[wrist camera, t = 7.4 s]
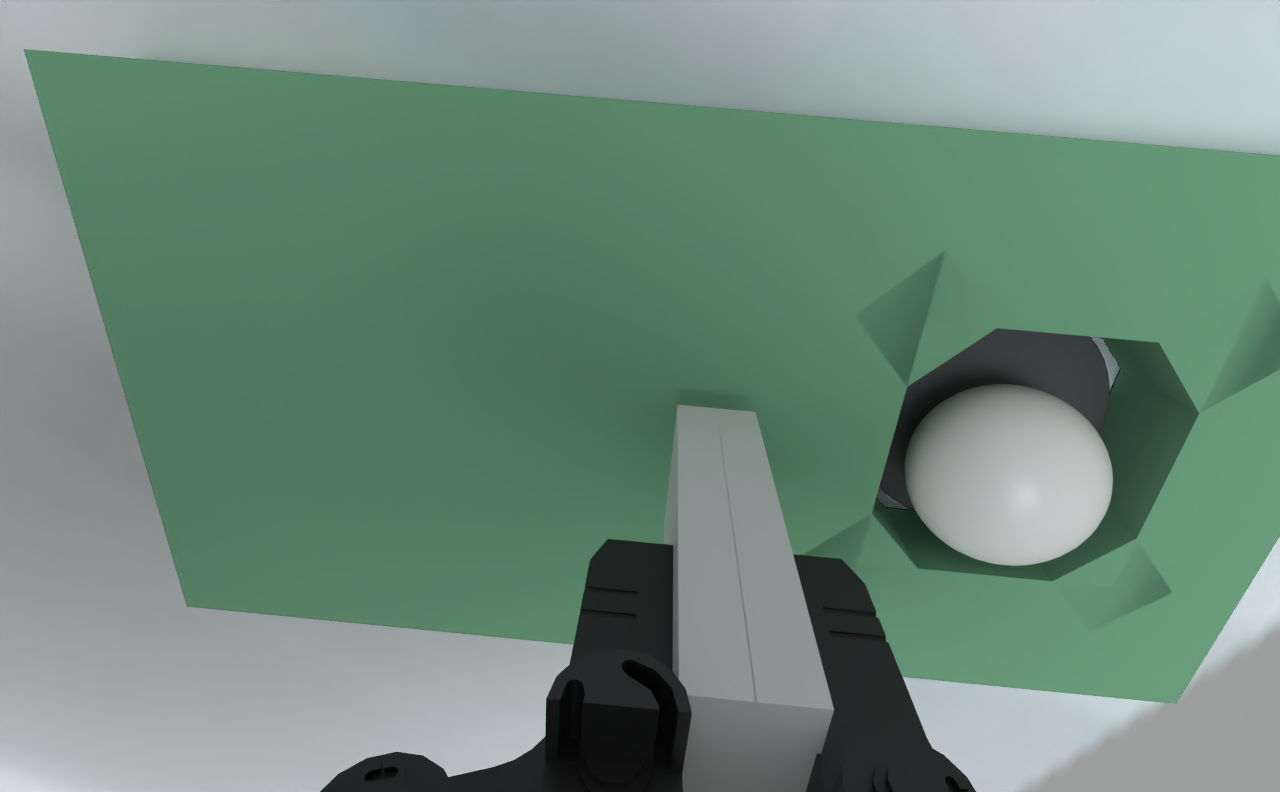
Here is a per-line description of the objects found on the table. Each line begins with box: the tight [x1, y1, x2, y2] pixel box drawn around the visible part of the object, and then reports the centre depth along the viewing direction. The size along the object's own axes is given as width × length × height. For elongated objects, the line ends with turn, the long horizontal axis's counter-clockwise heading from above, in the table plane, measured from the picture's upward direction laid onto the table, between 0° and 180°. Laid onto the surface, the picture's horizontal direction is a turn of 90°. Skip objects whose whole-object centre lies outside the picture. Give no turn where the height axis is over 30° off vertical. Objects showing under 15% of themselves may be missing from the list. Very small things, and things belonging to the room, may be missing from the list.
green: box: [24, 49, 1280, 704], centre depth 11 cm, size 28×13×12 cm, turn 85°
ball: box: [905, 384, 1113, 566], centre depth 14 cm, size 4×4×4 cm
